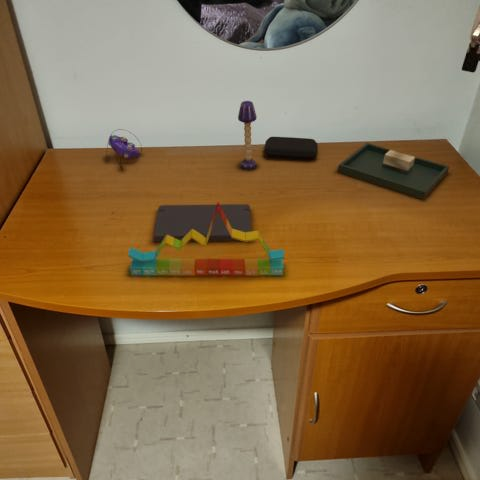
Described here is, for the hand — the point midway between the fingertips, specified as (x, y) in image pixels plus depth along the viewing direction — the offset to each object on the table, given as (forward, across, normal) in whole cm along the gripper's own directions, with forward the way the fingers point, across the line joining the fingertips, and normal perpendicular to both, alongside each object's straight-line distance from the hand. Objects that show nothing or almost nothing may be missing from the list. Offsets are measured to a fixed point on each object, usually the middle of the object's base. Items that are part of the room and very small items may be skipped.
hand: (474, 65), depth 118 cm
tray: (+23, -18, +8) cm, 31 cm away
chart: (+24, -79, +21) cm, 85 cm away
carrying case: (+24, -24, +36) cm, 49 cm away
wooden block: (+23, -16, +8) cm, 29 cm away
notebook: (+24, -67, +32) cm, 78 cm away
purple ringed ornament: (+24, -56, +70) cm, 93 cm away
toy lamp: (+24, -38, +41) cm, 61 cm away
